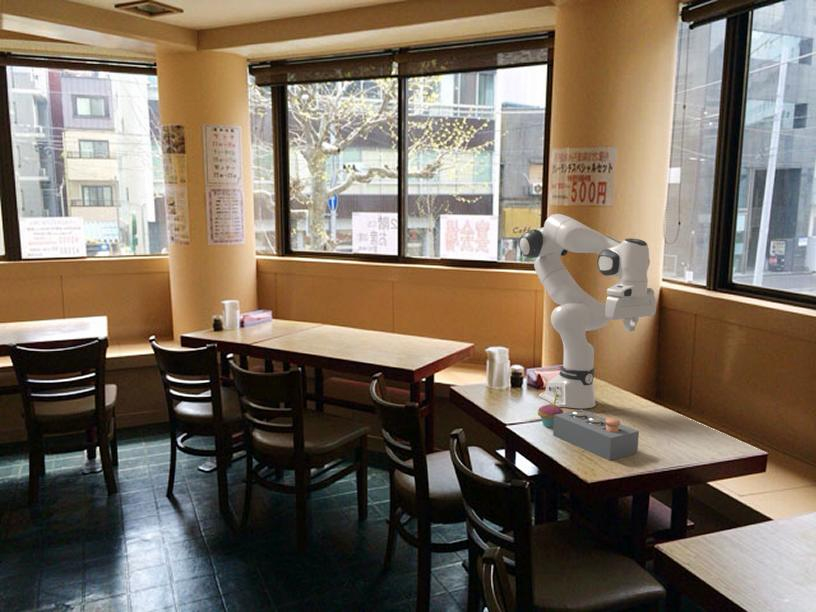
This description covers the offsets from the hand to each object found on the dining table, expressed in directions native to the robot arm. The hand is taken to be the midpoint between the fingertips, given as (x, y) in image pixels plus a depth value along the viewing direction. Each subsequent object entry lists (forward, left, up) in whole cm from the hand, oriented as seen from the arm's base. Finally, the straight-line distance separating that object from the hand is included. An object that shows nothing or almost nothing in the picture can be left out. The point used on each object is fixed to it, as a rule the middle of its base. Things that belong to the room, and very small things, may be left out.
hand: (629, 331), depth 210 cm
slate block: (+4, -18, -34) cm, 39 cm away
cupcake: (-16, -18, -34) cm, 42 cm away
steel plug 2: (+4, -18, -34) cm, 38 cm away
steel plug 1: (-3, -18, -34) cm, 38 cm away
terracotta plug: (+11, -18, -32) cm, 38 cm away
